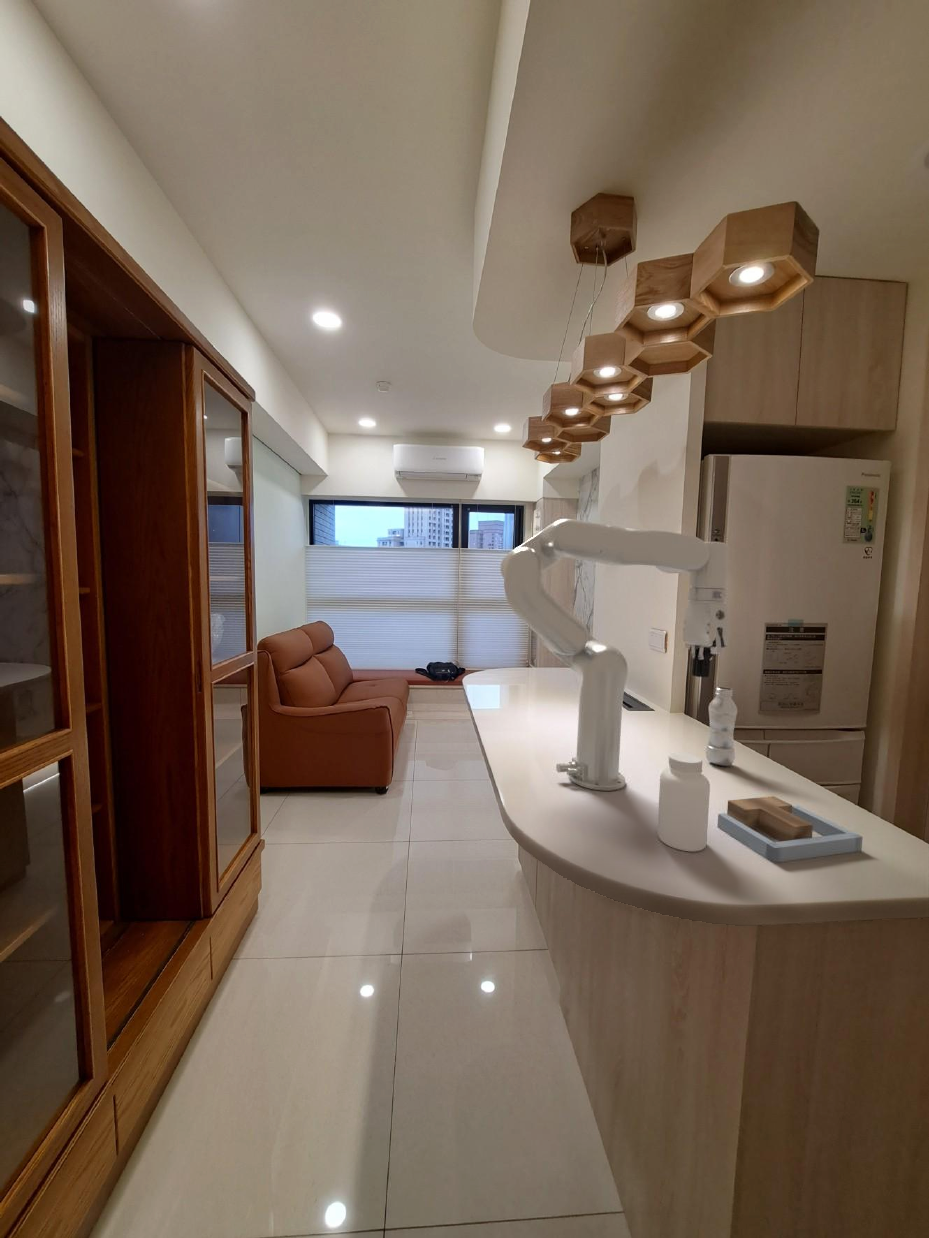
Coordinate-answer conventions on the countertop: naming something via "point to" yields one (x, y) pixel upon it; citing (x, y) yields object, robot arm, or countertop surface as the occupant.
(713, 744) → the plastic bottle
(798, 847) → the frame
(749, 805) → the t block
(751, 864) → the countertop surface
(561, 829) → the countertop surface
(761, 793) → the countertop surface
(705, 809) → the pill bottle
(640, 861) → the countertop surface
